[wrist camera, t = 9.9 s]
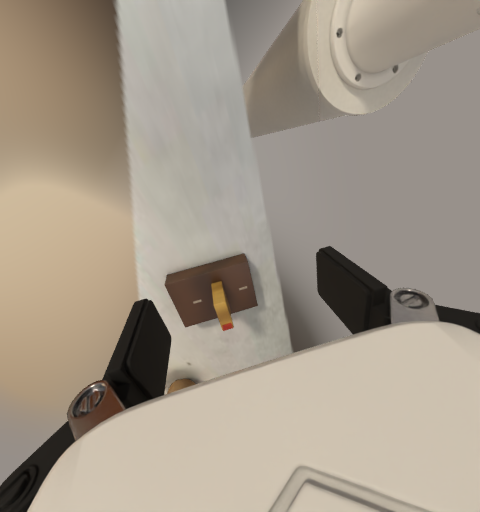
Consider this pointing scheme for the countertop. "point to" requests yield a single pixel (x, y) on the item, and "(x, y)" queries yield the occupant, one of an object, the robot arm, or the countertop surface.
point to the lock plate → (200, 290)
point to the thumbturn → (221, 306)
